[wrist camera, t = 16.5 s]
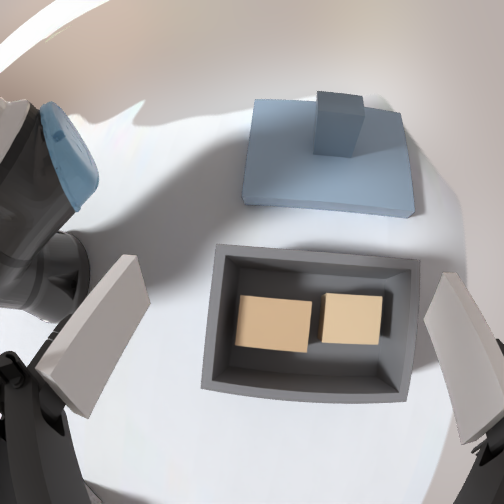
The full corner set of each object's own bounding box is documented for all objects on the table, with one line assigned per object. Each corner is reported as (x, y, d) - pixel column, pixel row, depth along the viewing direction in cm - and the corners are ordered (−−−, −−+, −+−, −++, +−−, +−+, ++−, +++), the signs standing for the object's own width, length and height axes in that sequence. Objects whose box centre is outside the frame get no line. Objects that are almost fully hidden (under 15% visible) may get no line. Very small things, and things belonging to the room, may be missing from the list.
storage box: (222, 370, 33) (200, 388, 25) (234, 260, 36) (216, 243, 27) (380, 382, 30) (406, 401, 22) (390, 272, 33) (419, 260, 24)
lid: (245, 204, 37) (226, 159, 26) (256, 110, 40) (246, 55, 29) (406, 218, 34) (446, 182, 23) (395, 123, 37) (418, 73, 26)
